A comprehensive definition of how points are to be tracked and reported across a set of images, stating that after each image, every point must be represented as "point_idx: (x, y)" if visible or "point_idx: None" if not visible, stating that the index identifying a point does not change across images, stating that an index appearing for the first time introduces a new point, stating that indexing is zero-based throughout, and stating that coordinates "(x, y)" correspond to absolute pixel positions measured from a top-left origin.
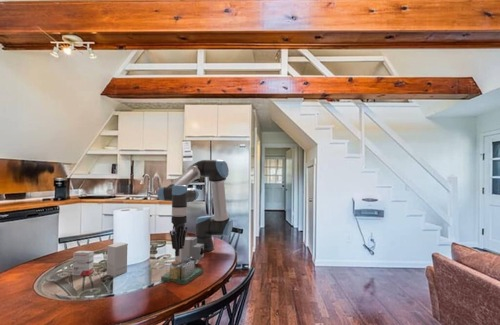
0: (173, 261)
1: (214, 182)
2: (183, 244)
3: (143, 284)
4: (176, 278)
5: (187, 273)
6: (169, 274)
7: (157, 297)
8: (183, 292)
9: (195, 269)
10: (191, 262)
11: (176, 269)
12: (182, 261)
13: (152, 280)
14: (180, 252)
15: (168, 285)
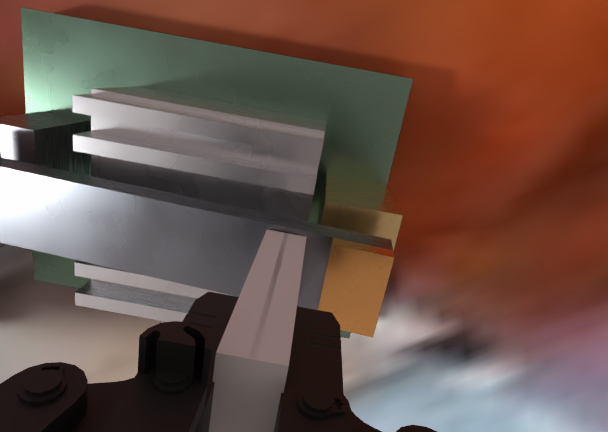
0: (341, 322)
1: None
2: (42, 411)
3: (439, 403)
4: (387, 187)
5: (271, 113)
6: None
7: None
8: (599, 18)
9: (73, 94)
10: (120, 116)
11: (401, 219)
12: (233, 220)
13: (353, 377)
14: (270, 313)
15: (440, 222)
